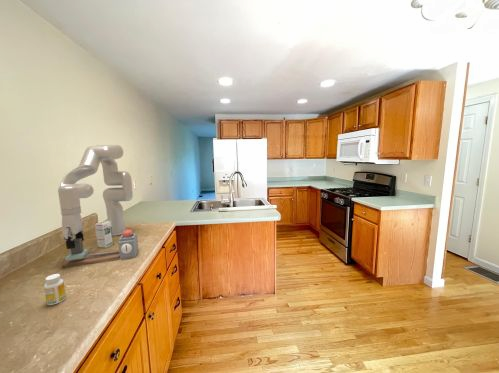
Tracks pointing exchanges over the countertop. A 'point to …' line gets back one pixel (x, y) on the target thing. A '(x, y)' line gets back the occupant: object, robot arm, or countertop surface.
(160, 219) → the countertop surface
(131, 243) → the cabinet
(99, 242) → the syrup box
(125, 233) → the button
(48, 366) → the countertop surface
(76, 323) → the countertop surface
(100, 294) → the countertop surface
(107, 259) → the rail bed
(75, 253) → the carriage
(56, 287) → the supplement bottle
